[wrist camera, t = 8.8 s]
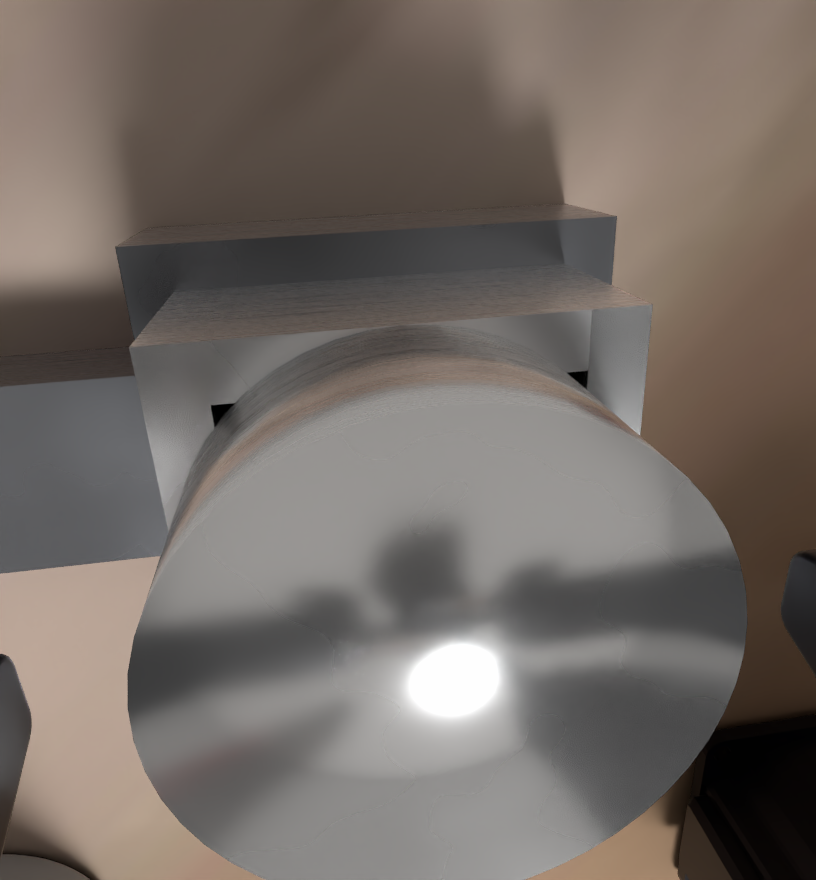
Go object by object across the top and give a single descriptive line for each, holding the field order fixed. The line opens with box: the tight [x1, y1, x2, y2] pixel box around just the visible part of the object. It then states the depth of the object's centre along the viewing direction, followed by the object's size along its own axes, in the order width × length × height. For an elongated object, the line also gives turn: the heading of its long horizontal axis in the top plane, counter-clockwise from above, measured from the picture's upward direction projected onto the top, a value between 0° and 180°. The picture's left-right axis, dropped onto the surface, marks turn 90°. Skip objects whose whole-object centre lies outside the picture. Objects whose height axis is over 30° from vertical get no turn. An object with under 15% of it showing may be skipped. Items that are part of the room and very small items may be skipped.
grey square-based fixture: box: [128, 263, 747, 880], centre depth 10 cm, size 6×6×6 cm
